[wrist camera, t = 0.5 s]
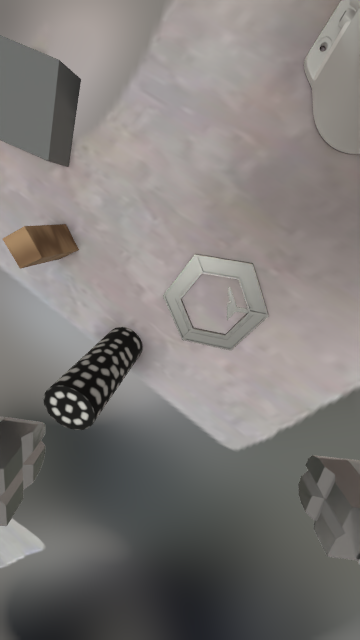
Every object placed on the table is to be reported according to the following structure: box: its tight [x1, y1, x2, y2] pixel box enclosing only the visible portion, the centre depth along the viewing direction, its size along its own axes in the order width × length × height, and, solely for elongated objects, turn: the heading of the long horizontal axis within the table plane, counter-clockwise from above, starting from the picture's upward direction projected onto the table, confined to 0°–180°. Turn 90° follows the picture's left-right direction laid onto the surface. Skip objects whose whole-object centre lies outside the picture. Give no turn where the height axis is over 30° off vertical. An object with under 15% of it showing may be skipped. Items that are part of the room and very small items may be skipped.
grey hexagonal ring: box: [163, 254, 268, 350], centre depth 46 cm, size 17×20×1 cm
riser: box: [0, 35, 81, 167], centre depth 37 cm, size 12×12×5 cm
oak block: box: [3, 224, 79, 268], centre depth 43 cm, size 5×5×10 cm
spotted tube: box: [44, 327, 142, 430], centre depth 45 cm, size 8×8×20 cm
